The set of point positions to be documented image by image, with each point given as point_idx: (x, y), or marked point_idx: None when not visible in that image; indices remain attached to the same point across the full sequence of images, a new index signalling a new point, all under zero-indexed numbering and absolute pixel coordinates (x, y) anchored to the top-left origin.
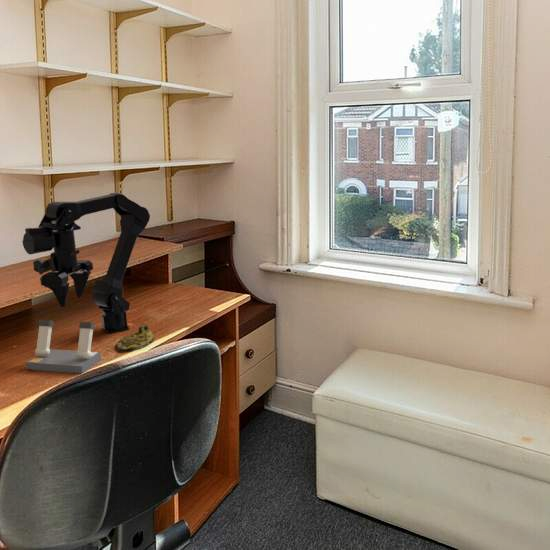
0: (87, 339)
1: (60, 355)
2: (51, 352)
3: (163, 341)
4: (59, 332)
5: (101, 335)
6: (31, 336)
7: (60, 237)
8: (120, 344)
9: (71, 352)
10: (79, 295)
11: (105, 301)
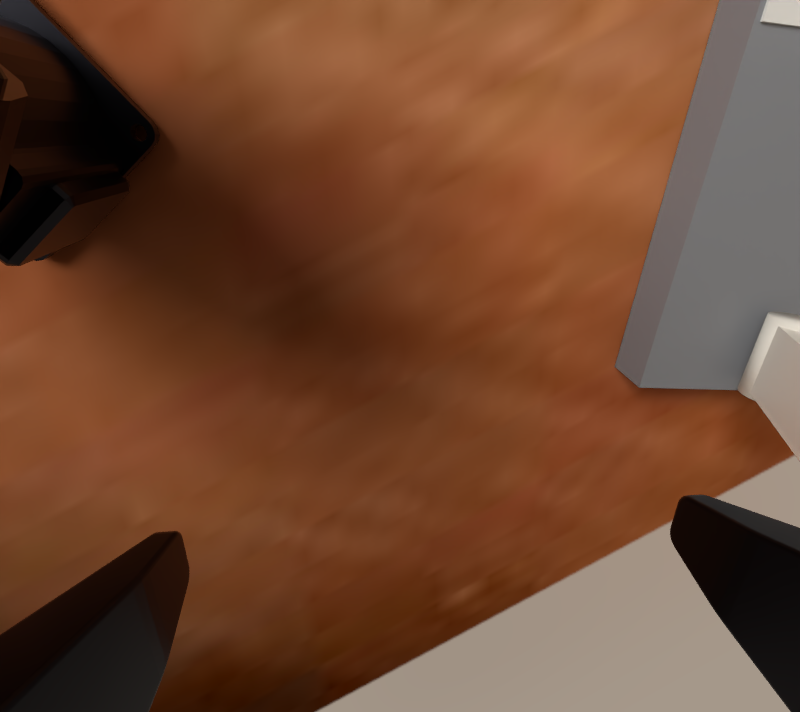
0: None
1: (777, 233)
2: (707, 325)
3: None
4: (223, 509)
5: (211, 188)
6: (316, 604)
7: None
8: None
9: (736, 178)
10: (173, 570)
11: (2, 79)
